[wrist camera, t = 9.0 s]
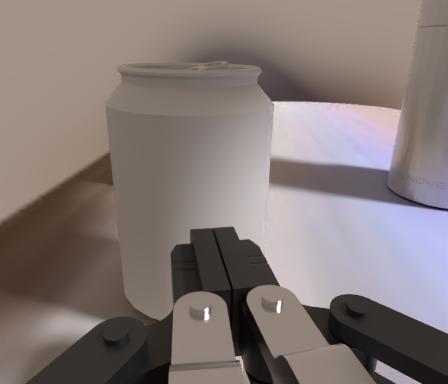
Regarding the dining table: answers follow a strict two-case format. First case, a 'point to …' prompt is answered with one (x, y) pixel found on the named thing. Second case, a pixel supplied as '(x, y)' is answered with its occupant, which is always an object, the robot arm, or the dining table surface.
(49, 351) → the dining table surface
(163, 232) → the can
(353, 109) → the dining table surface
